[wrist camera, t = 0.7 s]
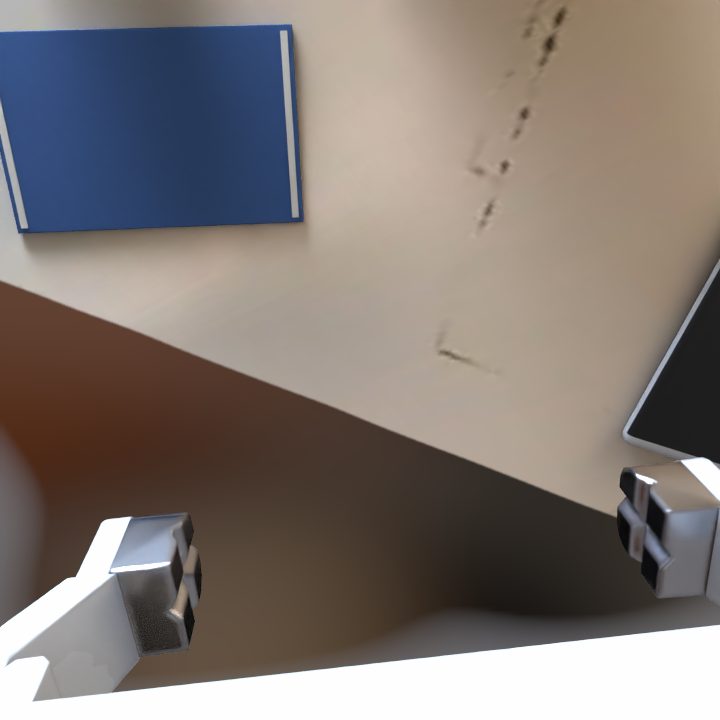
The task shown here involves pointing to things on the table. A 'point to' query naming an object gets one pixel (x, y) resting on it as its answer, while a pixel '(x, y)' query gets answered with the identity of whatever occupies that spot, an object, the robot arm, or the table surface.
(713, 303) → the smartphone
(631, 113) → the table surface
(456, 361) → the table surface
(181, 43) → the cloth
